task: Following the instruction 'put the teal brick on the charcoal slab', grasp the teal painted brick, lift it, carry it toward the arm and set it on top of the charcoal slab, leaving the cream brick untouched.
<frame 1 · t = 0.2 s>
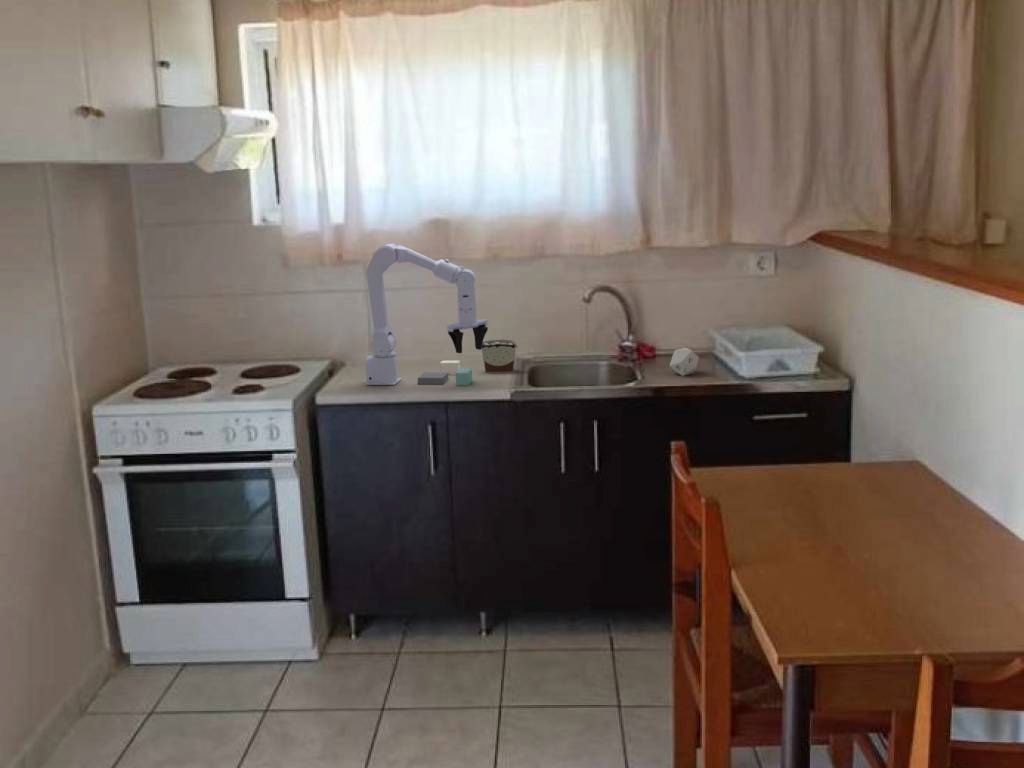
hand: (468, 351, 321), 10 cm above the kitchen counter, fingers open, 7 cm apart
cream brick: (450, 373, 336), on the kitchen counter
die: (684, 374, 324), on the kitchen counter
food container: (500, 371, 337), on the kitchen counter
teal brick: (464, 383, 321), on the kitchen counter
charcoal slab: (433, 382, 325), on the kitchen counter
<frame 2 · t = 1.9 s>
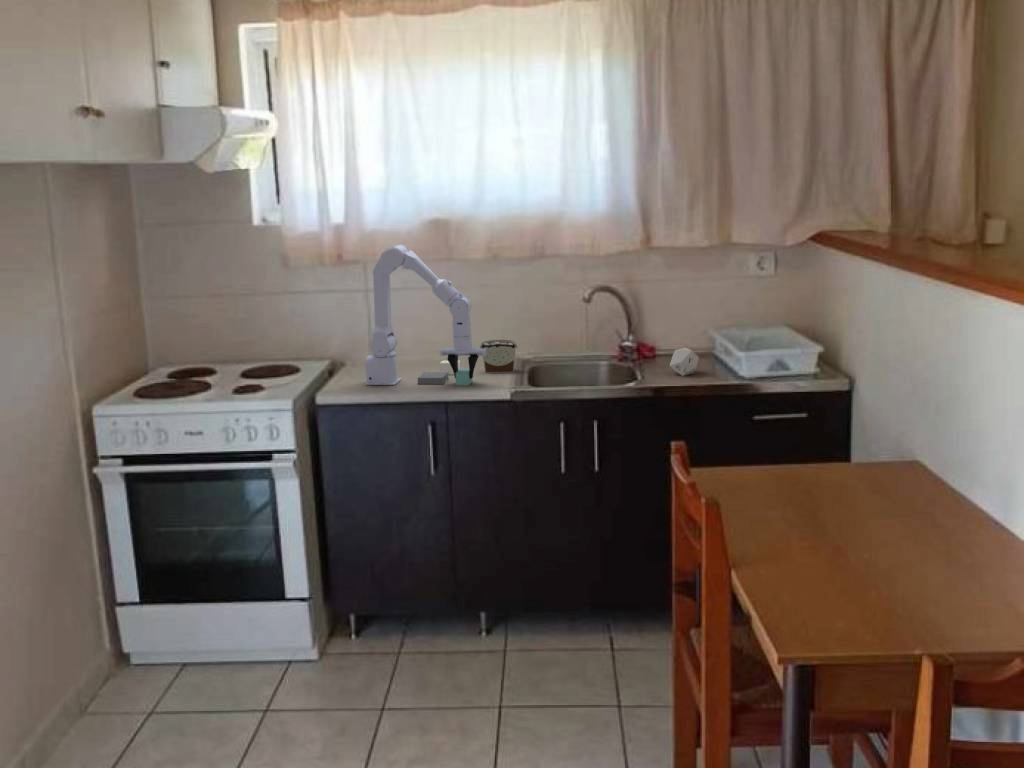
hand: (464, 377, 321), 2 cm above the kitchen counter, fingers closed on teal brick, 4 cm apart
teal brick: (464, 383, 321), on the kitchen counter, touching gripper
everything else where it was.
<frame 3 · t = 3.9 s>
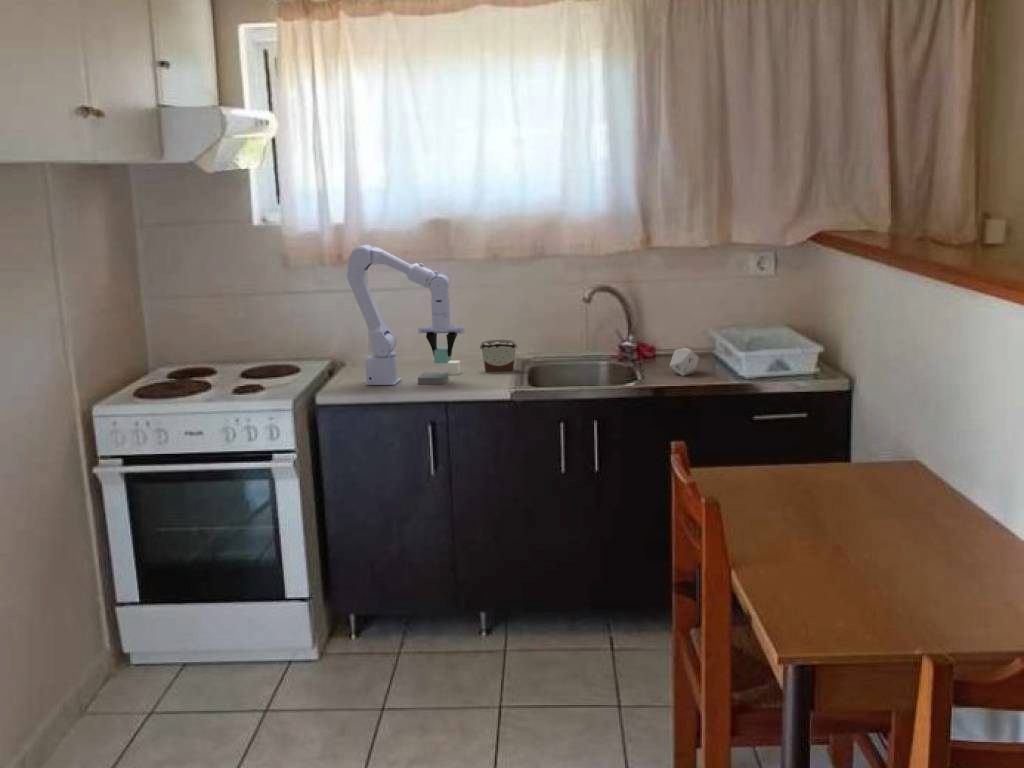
hand: (442, 355, 322), 8 cm above the kitchen counter, fingers closed on teal brick, 4 cm apart
teal brick: (442, 361, 322), point 7 cm above the kitchen counter, touching gripper
everything else where it was.
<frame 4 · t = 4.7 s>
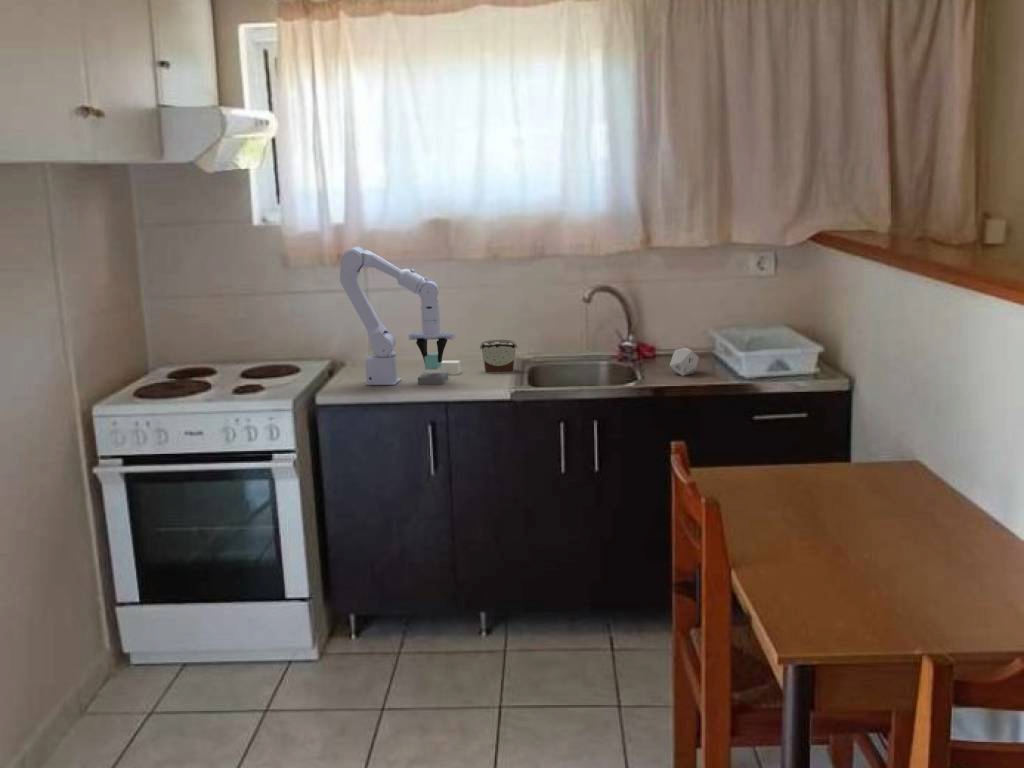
hand: (433, 361, 323), 6 cm above the kitchen counter, fingers closed on teal brick, 4 cm apart
teal brick: (433, 367, 324), point 5 cm above the kitchen counter, touching gripper
everything else where it was.
when the fingers open (5 cm above the kitchen counter, at t = 5.4 s): teal brick drops 1 cm, point 2 cm above the kitchen counter.
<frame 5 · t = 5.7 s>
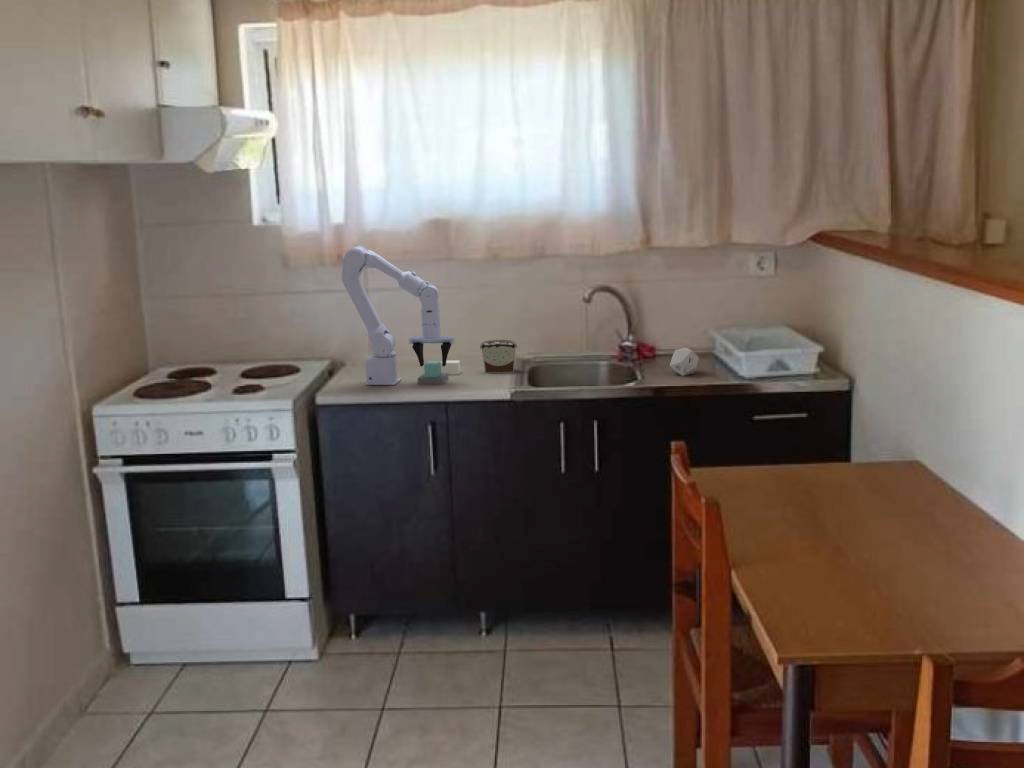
hand: (433, 365, 324), 5 cm above the kitchen counter, fingers open, 7 cm apart
teal brick: (433, 375, 324), point 2 cm above the kitchen counter
everything else where it was.
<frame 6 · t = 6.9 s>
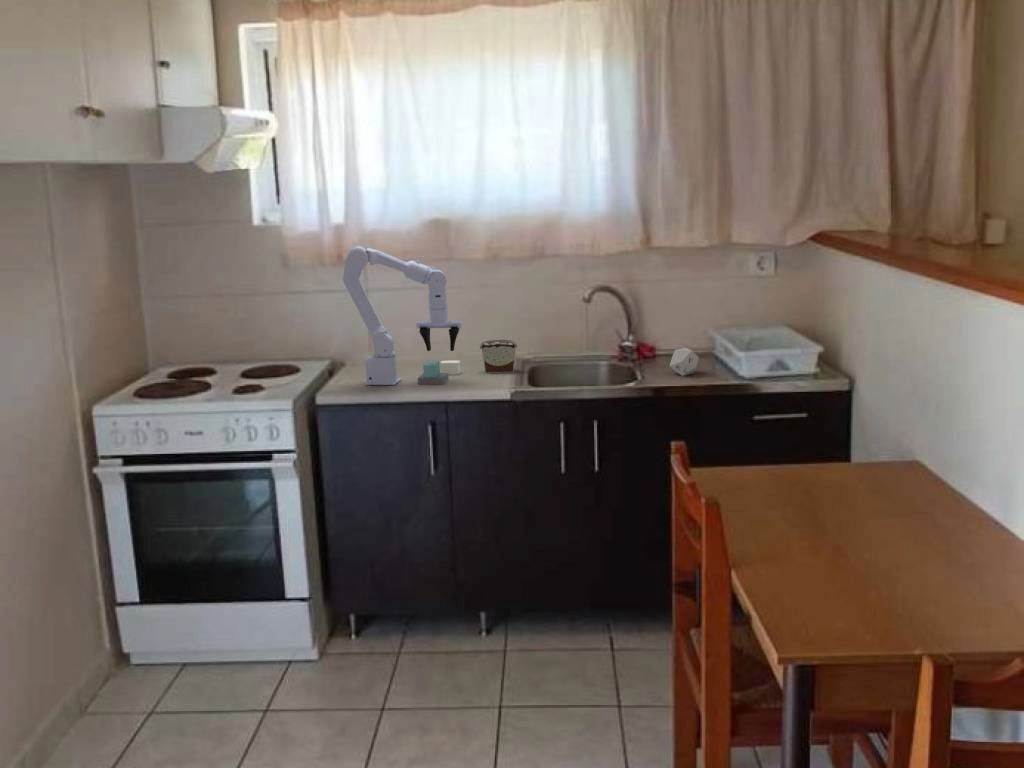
hand: (440, 350, 325), 9 cm above the kitchen counter, fingers open, 7 cm apart
teal brick: (432, 375, 324), point 2 cm above the kitchen counter, touching charcoal slab
charcoal slab: (433, 383, 325), on the kitchen counter, touching teal brick
everything else where it was.
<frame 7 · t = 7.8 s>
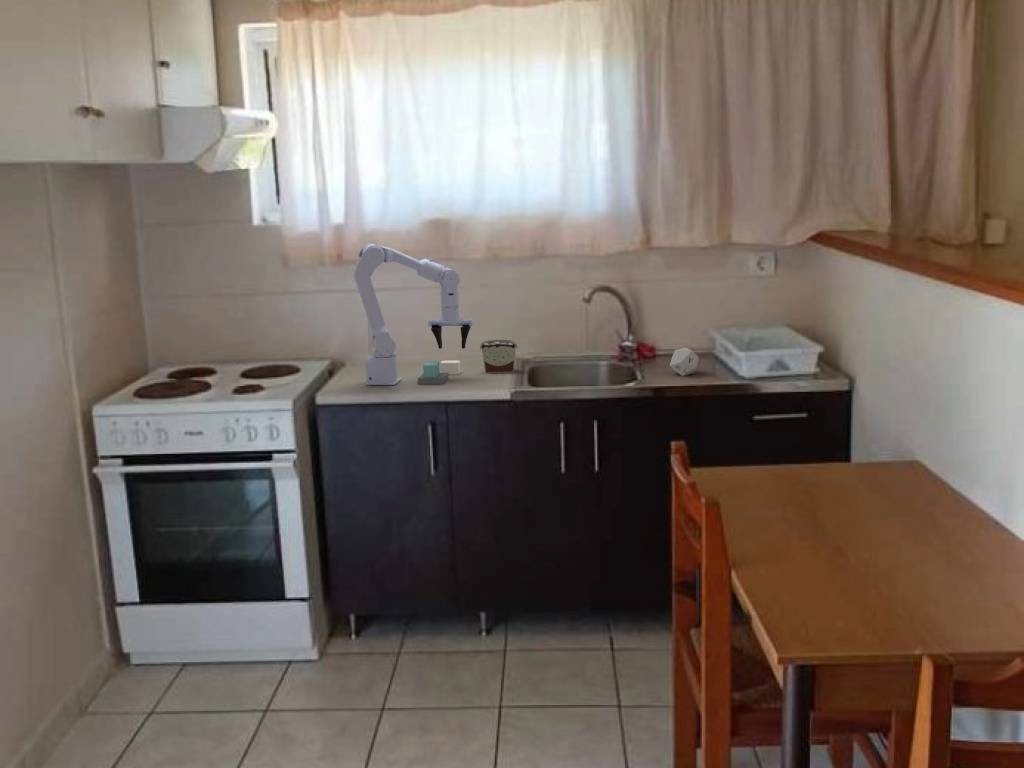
hand: (452, 348, 329), 9 cm above the kitchen counter, fingers open, 7 cm apart
nothing on the kitchen counter moved.
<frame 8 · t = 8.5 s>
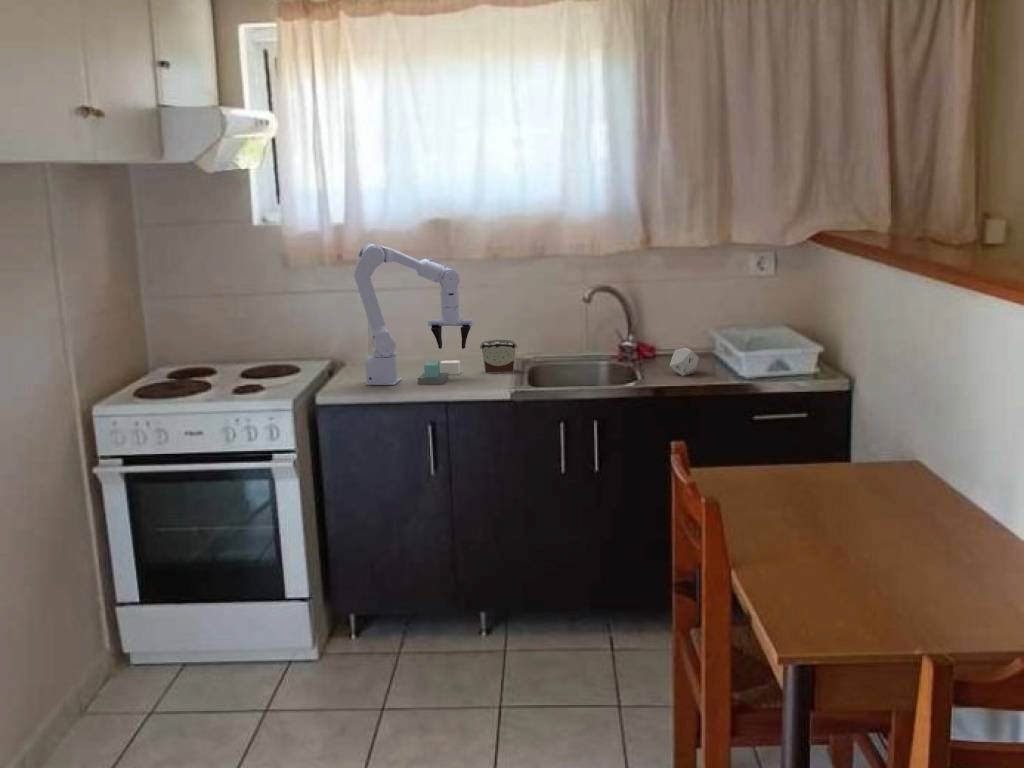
hand: (452, 348, 329), 9 cm above the kitchen counter, fingers open, 7 cm apart
nothing on the kitchen counter moved.
at the end: teal brick 0.2 cm off-centre on the charcoal slab, point 2.6 cm above the charcoal slab's base; cream brick moved 0.2 cm from its start; charcoal slab moved 0.6 cm from its start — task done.
